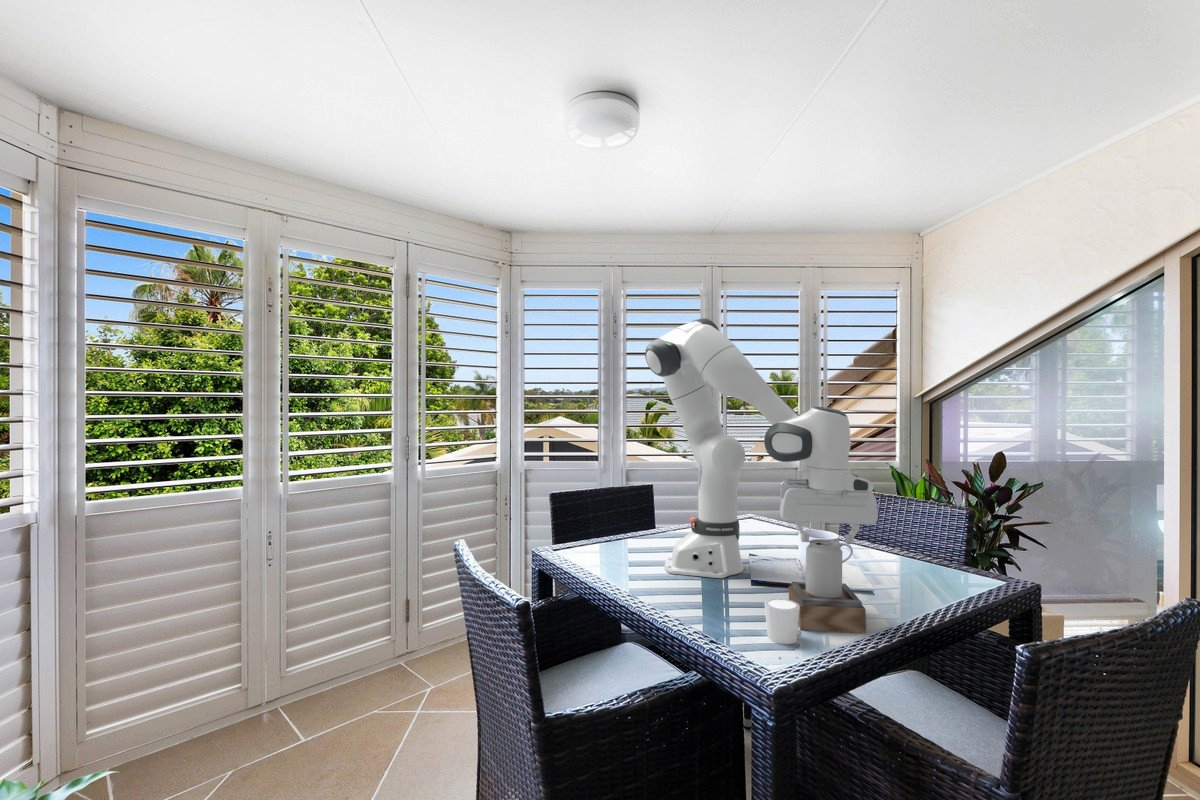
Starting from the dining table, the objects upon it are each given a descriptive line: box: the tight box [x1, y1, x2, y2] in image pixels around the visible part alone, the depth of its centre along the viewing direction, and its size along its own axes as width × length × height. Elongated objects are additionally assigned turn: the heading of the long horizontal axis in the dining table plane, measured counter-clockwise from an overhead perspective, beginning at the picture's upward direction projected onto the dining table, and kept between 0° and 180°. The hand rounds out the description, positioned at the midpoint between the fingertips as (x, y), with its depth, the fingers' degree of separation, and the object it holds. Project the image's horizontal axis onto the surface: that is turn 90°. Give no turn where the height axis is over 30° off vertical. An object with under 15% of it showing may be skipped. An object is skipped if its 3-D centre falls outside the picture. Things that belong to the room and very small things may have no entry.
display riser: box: [788, 581, 867, 634], centre depth 123 cm, size 13×13×6 cm
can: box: [805, 538, 843, 599], centre depth 123 cm, size 8×8×12 cm
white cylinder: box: [764, 597, 800, 645], centre depth 114 cm, size 7×7×7 cm
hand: (826, 542), depth 124 cm, fingers open, 8 cm apart
